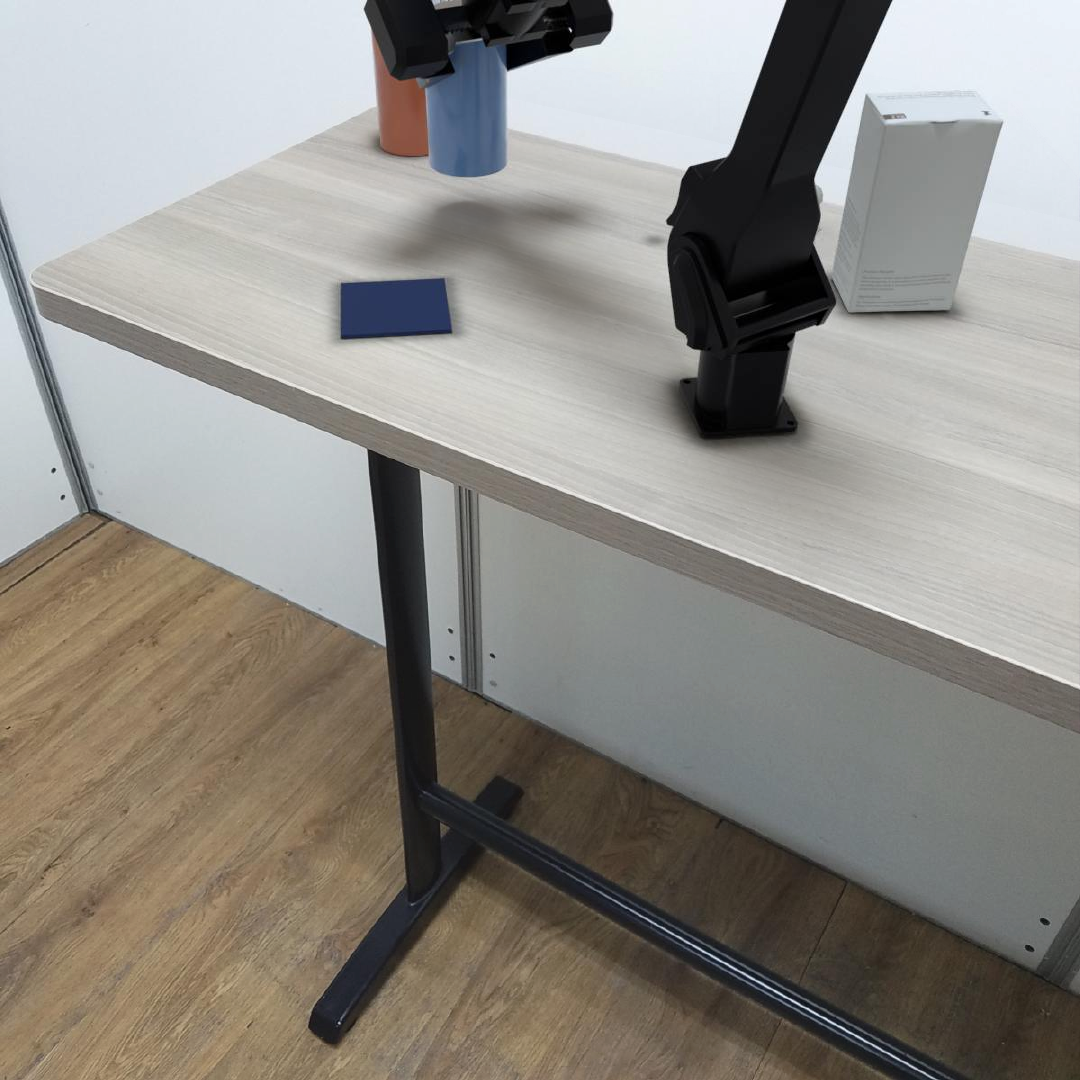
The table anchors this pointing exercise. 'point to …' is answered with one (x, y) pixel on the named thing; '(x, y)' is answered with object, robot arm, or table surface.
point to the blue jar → (469, 111)
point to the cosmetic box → (913, 198)
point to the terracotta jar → (399, 111)
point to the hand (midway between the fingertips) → (457, 76)
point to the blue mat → (394, 308)
